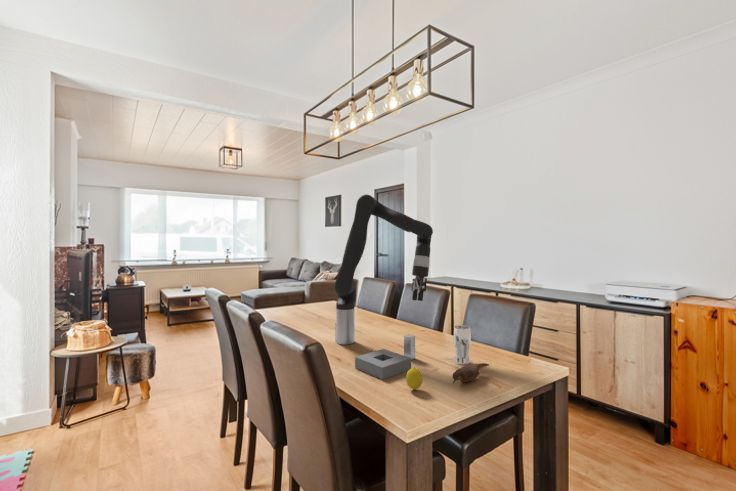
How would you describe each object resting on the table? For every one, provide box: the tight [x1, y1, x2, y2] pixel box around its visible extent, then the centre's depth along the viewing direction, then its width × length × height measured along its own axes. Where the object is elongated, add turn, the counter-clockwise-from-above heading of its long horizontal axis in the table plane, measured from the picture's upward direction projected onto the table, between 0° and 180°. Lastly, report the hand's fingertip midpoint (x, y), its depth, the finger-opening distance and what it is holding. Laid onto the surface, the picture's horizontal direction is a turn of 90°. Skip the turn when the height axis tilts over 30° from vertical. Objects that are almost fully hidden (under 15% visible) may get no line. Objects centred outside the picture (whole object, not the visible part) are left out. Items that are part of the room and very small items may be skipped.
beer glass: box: [453, 324, 472, 366], centre depth 151 cm, size 7×7×15 cm
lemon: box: [405, 366, 423, 391], centre depth 124 cm, size 6×6×8 cm
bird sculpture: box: [452, 362, 490, 384], centre depth 133 cm, size 7×25×5 cm, turn 134°
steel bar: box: [403, 333, 416, 361], centre depth 156 cm, size 4×4×10 cm
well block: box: [354, 348, 412, 381], centre depth 144 cm, size 16×16×4 cm
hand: (417, 300), depth 167 cm, fingers open, 8 cm apart
